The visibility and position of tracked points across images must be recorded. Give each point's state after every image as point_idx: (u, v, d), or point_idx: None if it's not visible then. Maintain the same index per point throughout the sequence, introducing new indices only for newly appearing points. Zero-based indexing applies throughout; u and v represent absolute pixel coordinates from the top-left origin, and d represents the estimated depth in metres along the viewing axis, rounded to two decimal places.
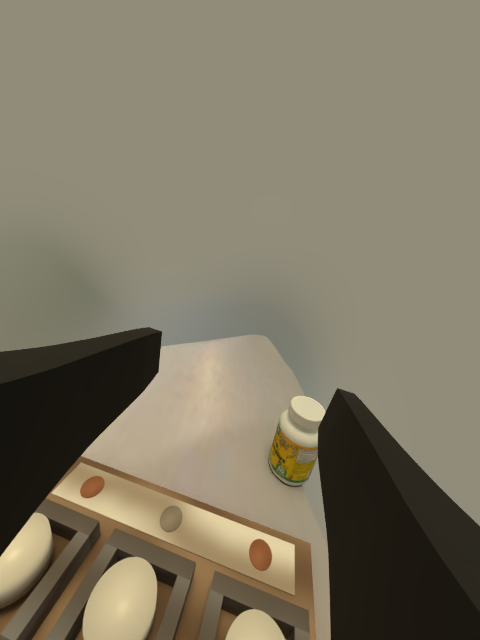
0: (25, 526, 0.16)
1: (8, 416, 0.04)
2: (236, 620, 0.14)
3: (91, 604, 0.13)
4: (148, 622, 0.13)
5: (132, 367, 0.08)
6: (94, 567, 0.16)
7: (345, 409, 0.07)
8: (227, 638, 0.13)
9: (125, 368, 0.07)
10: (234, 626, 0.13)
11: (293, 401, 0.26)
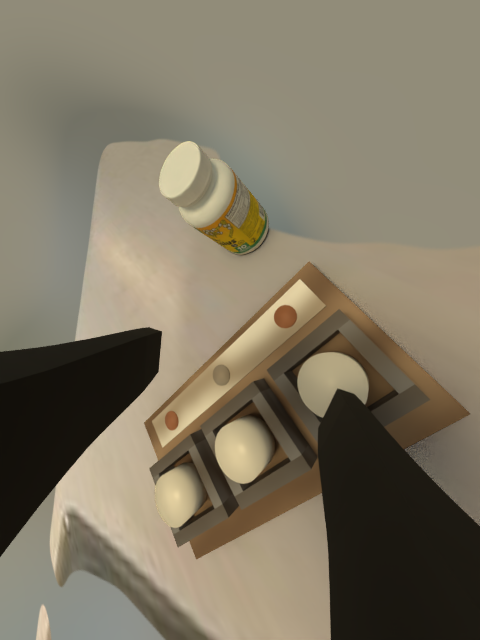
0: (163, 488, 0.19)
1: (8, 416, 0.04)
2: (298, 383, 0.14)
3: (226, 470, 0.16)
4: (258, 442, 0.16)
5: (132, 367, 0.08)
6: (214, 449, 0.19)
7: (345, 409, 0.07)
8: (302, 396, 0.14)
9: (125, 368, 0.07)
10: (300, 387, 0.14)
11: (162, 188, 0.16)
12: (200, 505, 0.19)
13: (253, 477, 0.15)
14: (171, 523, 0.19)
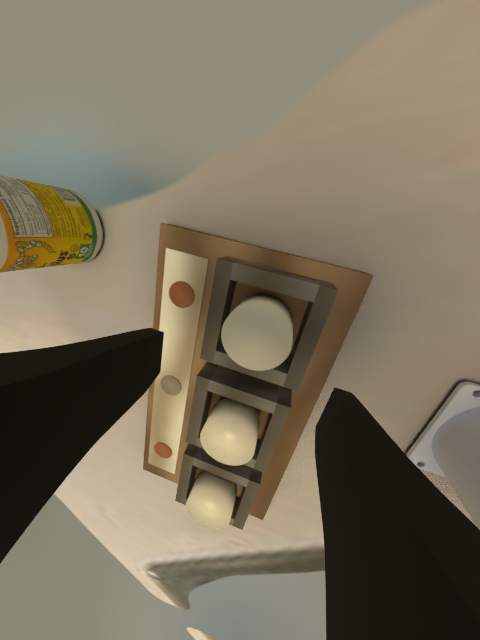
0: (195, 509, 0.19)
1: (11, 417, 0.04)
2: (230, 355, 0.13)
3: (230, 462, 0.16)
4: (236, 424, 0.15)
5: (134, 368, 0.08)
6: None
7: (342, 408, 0.07)
8: (241, 364, 0.13)
9: (127, 369, 0.07)
10: (233, 357, 0.13)
11: None
12: (234, 492, 0.20)
13: (252, 451, 0.15)
14: (222, 525, 0.19)
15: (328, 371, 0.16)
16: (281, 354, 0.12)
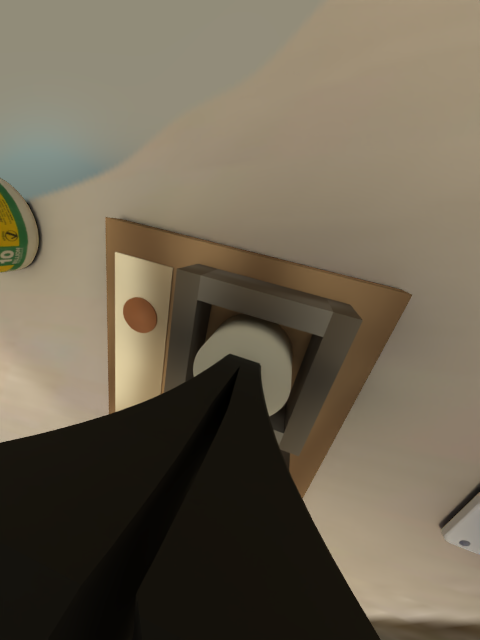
0: None
1: (172, 487, 0.04)
2: None
3: None
4: None
5: (227, 401, 0.07)
6: None
7: (238, 373, 0.07)
8: None
9: (223, 404, 0.07)
10: None
11: None
12: None
13: None
14: None
15: (341, 422, 0.11)
16: (275, 401, 0.09)
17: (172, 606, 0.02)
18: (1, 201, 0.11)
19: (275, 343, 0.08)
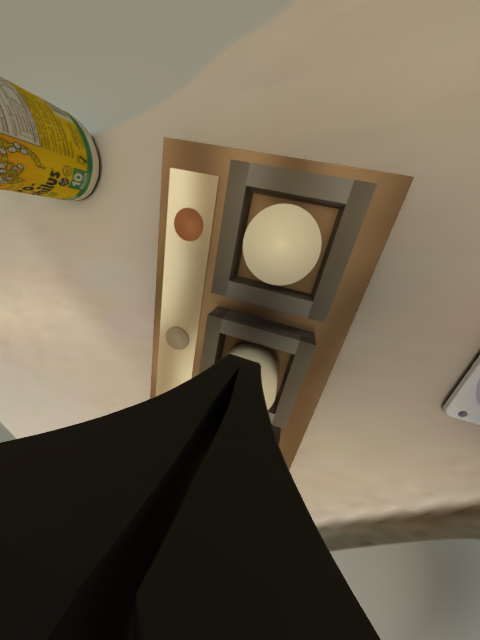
0: None
1: (173, 486, 0.04)
2: (251, 270, 0.12)
3: None
4: None
5: (227, 401, 0.07)
6: None
7: (238, 373, 0.07)
8: (264, 280, 0.12)
9: (224, 404, 0.07)
10: (256, 272, 0.12)
11: None
12: None
13: (273, 396, 0.13)
14: None
15: (357, 305, 0.14)
16: (308, 261, 0.11)
17: (173, 606, 0.02)
18: (76, 130, 0.14)
19: None
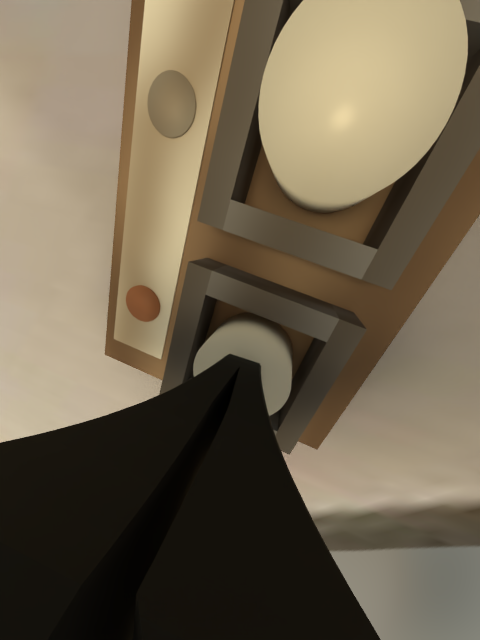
0: None
1: (173, 486, 0.04)
2: None
3: (341, 189, 0.05)
4: None
5: (227, 401, 0.07)
6: (259, 234, 0.08)
7: (238, 373, 0.07)
8: None
9: (223, 404, 0.07)
10: None
11: None
12: (291, 355, 0.10)
13: (448, 106, 0.04)
14: None
15: None
16: None
17: (172, 607, 0.02)
18: None
19: None
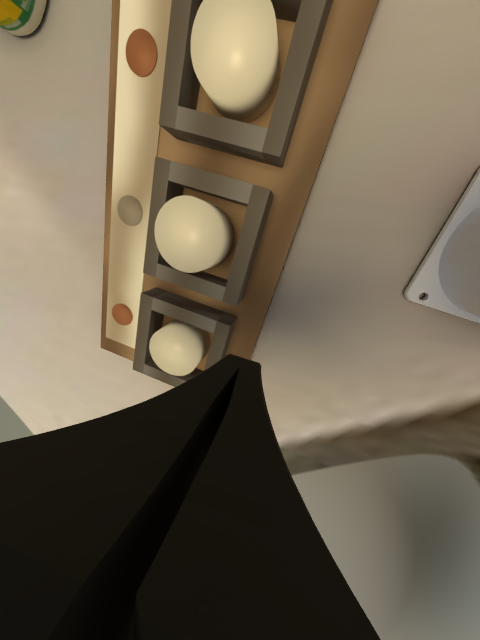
0: (159, 350, 0.17)
1: (172, 487, 0.04)
2: (200, 80, 0.11)
3: (191, 267, 0.13)
4: (199, 199, 0.12)
5: (227, 401, 0.07)
6: (173, 280, 0.15)
7: (238, 373, 0.07)
8: (213, 93, 0.11)
9: (223, 404, 0.07)
10: (205, 83, 0.11)
11: None
12: (206, 340, 0.18)
13: (219, 241, 0.12)
14: (188, 369, 0.17)
15: (320, 156, 0.13)
16: (262, 61, 0.10)
17: (172, 606, 0.02)
18: None
19: None
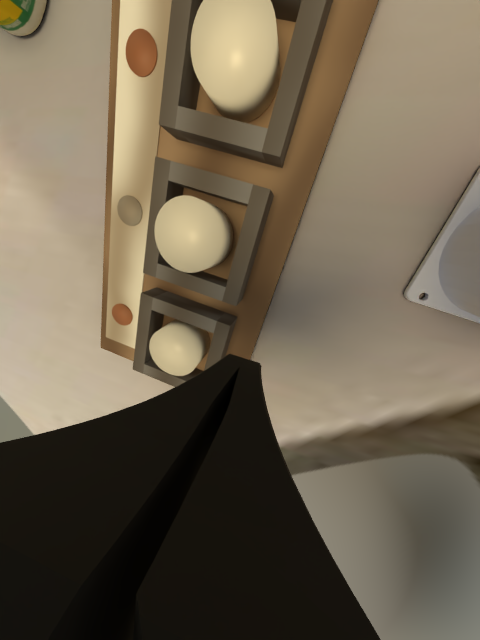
0: (159, 350, 0.17)
1: (172, 487, 0.04)
2: (200, 80, 0.11)
3: (191, 267, 0.13)
4: (199, 199, 0.12)
5: (227, 401, 0.07)
6: (173, 280, 0.15)
7: (238, 373, 0.07)
8: (213, 93, 0.11)
9: (223, 404, 0.07)
10: (205, 83, 0.11)
11: None
12: (206, 340, 0.18)
13: (219, 241, 0.12)
14: (188, 369, 0.17)
15: (320, 156, 0.13)
16: (262, 61, 0.10)
17: (172, 606, 0.02)
18: None
19: None
